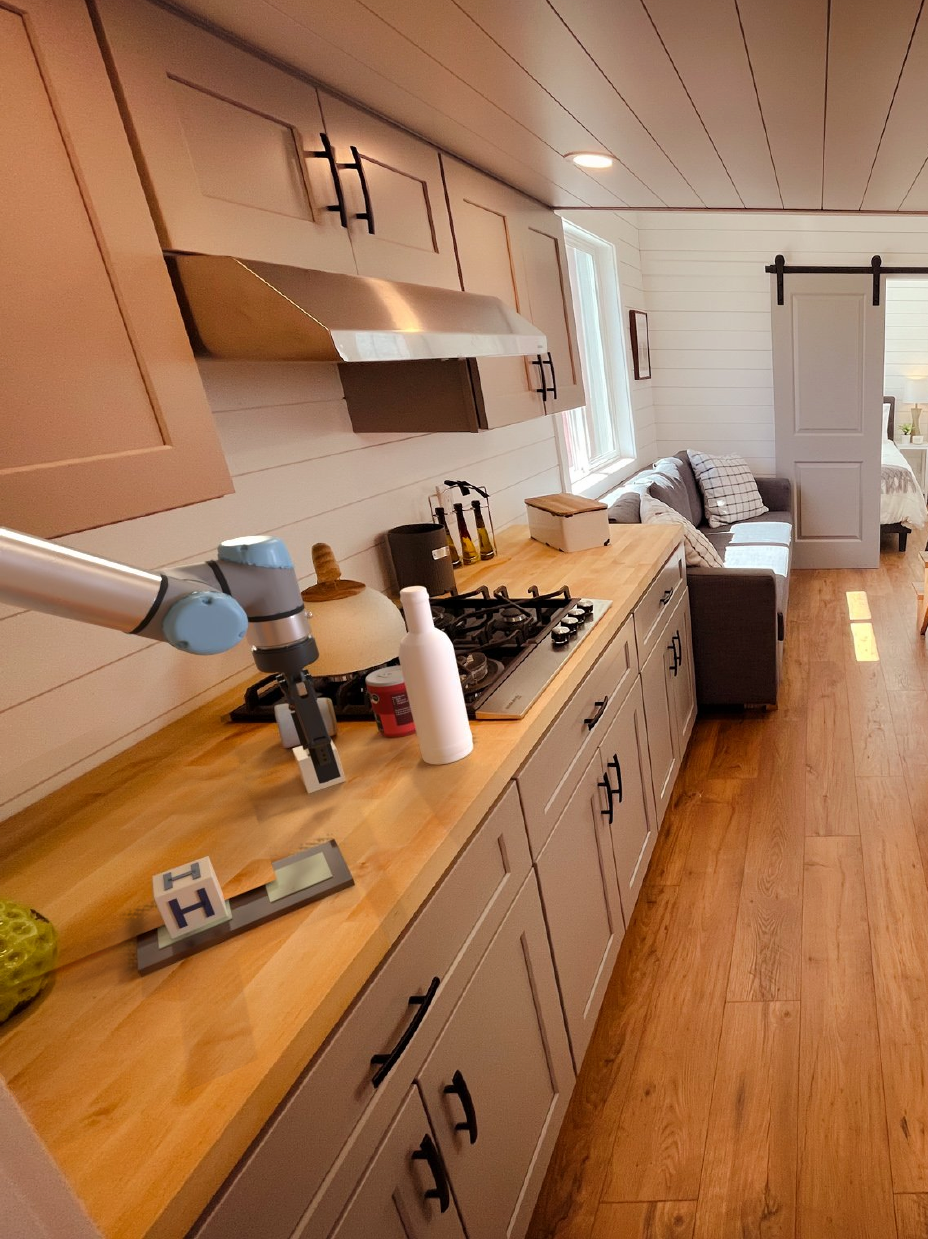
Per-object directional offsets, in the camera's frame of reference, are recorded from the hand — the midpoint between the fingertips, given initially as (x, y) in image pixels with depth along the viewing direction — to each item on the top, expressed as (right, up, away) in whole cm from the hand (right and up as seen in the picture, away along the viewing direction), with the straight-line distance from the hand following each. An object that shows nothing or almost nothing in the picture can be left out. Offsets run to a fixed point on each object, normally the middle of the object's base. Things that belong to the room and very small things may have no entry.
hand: (320, 761), depth 108 cm
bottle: (+15, -1, +9) cm, 18 cm away
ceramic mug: (-12, +1, +14) cm, 18 cm away
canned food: (+3, +2, +17) cm, 17 cm away
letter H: (+6, -13, -27) cm, 30 cm away
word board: (+9, -13, -23) cm, 28 cm away
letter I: (0, -3, +1) cm, 3 cm away
